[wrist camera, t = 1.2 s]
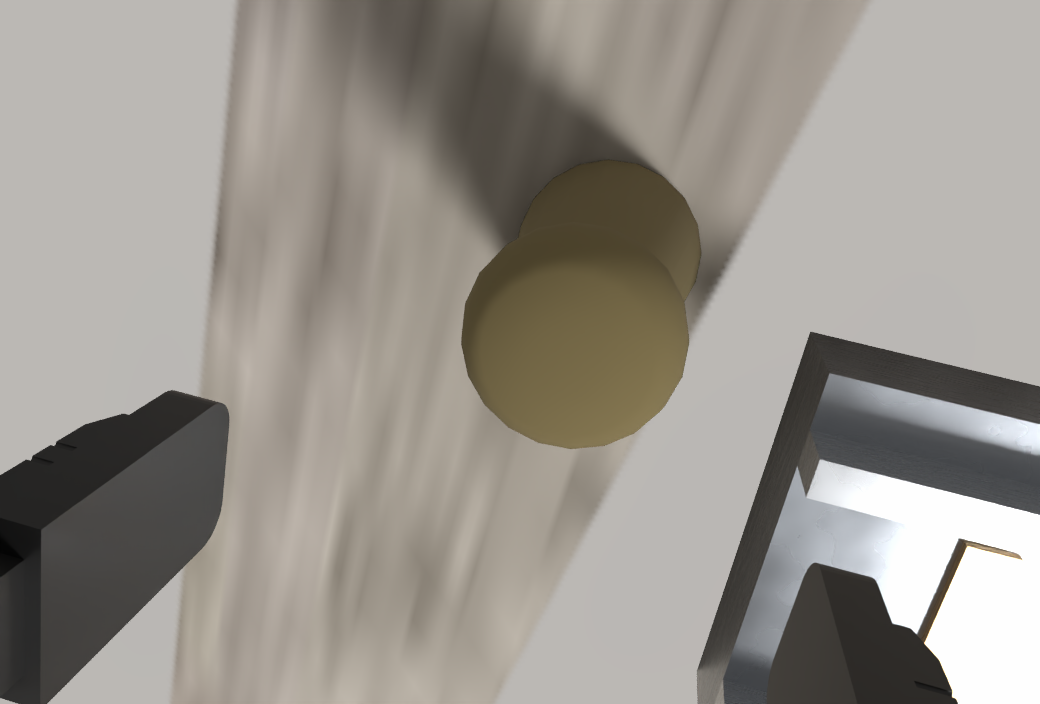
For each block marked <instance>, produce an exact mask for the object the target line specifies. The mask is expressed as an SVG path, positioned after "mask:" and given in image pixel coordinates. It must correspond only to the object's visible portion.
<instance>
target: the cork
mask: <svg viewBox="0 0 1040 704" xmlns="http://www.w3.org/2000/svg"><path fill="white" fill-rule="evenodd" d="M700 258H701V247H700V239H699V231H698V224H697V222H696V220H695V218H694V216H693V214H692V212H691V210H690V208H689V206H688V204H687V202H686V200H685V198H684V197H683V196H682V195H681V194H680V193H679V192H678V191H677V190H676V189H675V188H674V187H673V186H672V185H671V184H670V183H669V182H668V181H667V180H666V179H665V178H664V177H662V176H660V175H658V174H656V173H654V172H652V171H650V170H648V169H646V168H644V167H642V166H641V165H639V164H634V163H628V162H621V161H614V160H603V161H597V162H591V163H585V164H580V165H577V166H576V167H574V168H572V169H570V170H568V171H566V172H564V173H562V174H560V175H559V176H557V177H555V178H553V179H552V180H551V181H550V182H549V183H548V184H547V185H546V187H545V188H544V189H543V190H542V191H541V192H540V193H539V194H538V195H537V196H536V197H535V198H534V199H533V201H532V203H531V206H530V208H529V210H528V212H527V214H526V216H525V218H524V220H523V222H522V224H521V228H520V232H519V236H518V239H516V240H514V241H512V242H510V243H508V244H507V245H506V246H505V247H504V248H503V249H502V250H501V251H500V252H499V253H498V254H497V255H496V256H495V257H494V258H493V259H492V261H491V262H490V263H489V264H488V265H487V266H486V267H485V268H484V269H483V270H482V271H481V272H480V273H479V275H478V277H477V279H476V282H475V284H474V286H473V288H472V290H471V292H470V294H469V297H468V299H467V301H466V303H465V310H464V320H463V329H462V341H461V345H462V349H463V354H464V359H465V363H466V368H467V373H468V376H469V378H470V380H471V382H472V384H473V385H474V387H475V389H476V391H477V392H478V394H479V396H480V398H481V399H482V401H483V403H484V405H485V406H487V407H488V408H489V409H490V410H491V411H492V412H493V413H494V414H495V415H496V416H497V417H498V418H499V419H500V420H501V421H502V422H503V423H504V424H505V425H506V426H508V427H509V428H511V429H513V430H515V431H516V432H518V433H520V434H522V435H524V436H526V437H528V438H530V439H532V440H534V441H536V442H538V443H542V444H548V445H553V446H558V447H563V448H568V449H576V448H587V447H597V446H605V445H607V444H610V443H612V442H614V441H617V440H619V439H622V438H624V437H626V436H629V435H631V434H634V433H635V432H636V431H638V430H639V429H640V428H641V427H642V426H643V425H645V424H646V423H647V422H648V421H649V420H650V419H652V418H653V417H654V416H655V415H656V414H657V413H659V412H660V411H661V410H662V409H663V407H664V406H665V405H666V403H667V402H668V400H669V398H670V396H671V395H672V393H673V391H674V390H675V388H676V386H677V385H678V383H679V381H680V379H681V378H682V375H683V371H684V366H685V361H686V356H687V351H688V346H689V334H688V327H687V319H686V312H685V304H684V301H685V300H686V298H687V296H688V294H689V293H690V291H691V289H692V287H693V285H694V284H695V282H696V278H697V273H698V268H699V263H700Z"/></svg>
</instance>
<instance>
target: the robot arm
mask: <svg viewBox="0 0 1040 704" xmlns="http://www.w3.org/2000/svg"><path fill="white" fill-rule="evenodd" d="M228 431H229V413H228V409H227V407H226V406H225V405H224V404H223V403H219V402H215V401H212V400H208V399H204V398H200V397H197V396H193V395H189V394H185V393H182V392H178V391H173V390H171V391H167V392H165V393H163V394H162V395H160V396H159V397H157V398H156V399H154V400H152V401H151V402H149V403H148V404H146V405H145V406H143V407H141V408H140V409H138V410H136V411H135V412H133V413H132V414H130V415H127V414H121V415H117V416H114V417H110V418H107V419H103V420H99V421H96V422H92V423H89V424H85V425H83V426H82V427H80V428H78V429H77V430H75V431H74V432H72V433H70V434H68V435H67V436H65V437H63V438H62V439H60V440H58V441H57V442H56V445H55V446H52V445H50V446H48V447H47V448H45V449H43V450H42V451H40V452H39V453H37V454H35V455H33V457H32V460H31V461H30V460H25V461H23V462H22V463H20V464H18V465H17V466H15V467H13V468H12V469H10V470H8V471H7V472H5V473H3V474H2V475H0V698H2V699H5V700H9V701H12V702H15V703H18V704H47V703H48V702H49V701H50V700H51V699H52V698H53V697H54V696H55V695H56V694H57V693H58V692H59V691H60V690H61V689H62V688H63V687H64V686H65V685H66V684H67V683H68V682H69V681H70V680H71V679H72V678H73V677H74V676H75V675H76V674H77V673H78V672H79V671H80V670H81V669H82V668H83V667H84V666H85V665H86V664H87V663H88V662H89V661H90V660H91V659H92V658H93V657H94V656H95V655H96V654H97V653H98V652H99V651H100V650H101V649H102V648H103V647H104V646H105V645H106V644H107V643H108V642H109V641H110V640H111V639H112V638H113V637H114V636H115V635H116V634H117V633H118V632H119V631H120V630H121V629H122V628H123V627H124V626H125V625H126V624H127V623H128V622H129V621H130V620H131V619H132V618H133V617H134V616H135V615H136V614H137V613H138V612H139V611H140V610H141V609H142V608H143V607H144V606H145V605H146V604H147V603H148V602H149V601H150V600H151V599H152V598H153V597H154V596H155V595H156V594H157V593H158V592H159V591H160V590H161V589H162V588H163V587H164V586H165V585H166V584H167V583H168V582H169V581H170V580H171V579H172V578H173V577H174V576H175V575H176V574H177V573H178V572H179V571H180V570H181V569H182V568H183V567H184V566H185V565H186V564H187V563H188V562H189V561H190V560H191V559H192V558H193V557H194V556H195V555H196V554H197V553H198V552H199V551H200V550H201V549H202V548H203V547H204V546H205V544H206V543H207V541H208V540H209V538H210V537H211V535H212V533H213V531H214V529H215V526H216V524H217V521H218V519H219V515H220V511H221V507H222V499H223V488H224V476H225V465H226V454H227V442H228ZM952 694H953V690H952V688H951V685H950V683H949V681H948V678H947V676H946V674H945V672H944V669H943V667H942V665H941V662H940V660H939V659H938V658H937V657H936V655H935V654H934V653H933V652H932V651H931V650H930V649H929V648H928V647H927V646H926V644H925V643H924V642H923V641H922V640H921V639H920V638H919V637H918V636H917V635H916V633H915V632H914V631H913V630H912V629H911V628H908V627H905V626H901V625H897V624H894V623H892V621H891V618H890V615H889V613H888V610H887V607H886V605H885V602H884V600H883V597H882V594H881V592H880V589H879V586H878V584H877V582H876V580H875V579H874V578H872V577H869V576H865V575H861V574H857V573H854V572H850V571H846V570H842V569H839V568H835V567H831V566H827V565H823V564H820V563H816V562H815V563H813V564H811V565H810V566H809V568H808V569H807V571H806V573H805V575H804V578H803V580H802V583H801V585H800V588H799V591H798V594H797V596H796V599H795V602H794V605H793V607H792V610H791V613H790V615H789V618H788V621H787V624H786V626H785V629H784V632H783V634H782V637H781V640H780V643H779V645H778V648H777V651H776V654H775V656H774V659H773V662H772V666H771V670H770V675H769V680H768V687H767V704H958V702H957V699H956V698H954V697H952Z"/></svg>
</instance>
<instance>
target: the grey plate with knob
mask: <svg viewBox="0 0 1040 704" xmlns="http://www.w3.org/2000/svg"><path fill="white" fill-rule="evenodd" d="M815 562H816V563H820V564H823V565H827V566H831V567H835V568H839V569H842V570H846V571H850V572H854V573H857V574H861V575H865V576H869V577H872V578H874V579H875V580H876V582H877V584H878V586H879V589H880V592H881V594H882V597H883V600H884V602H885V605H886V607H887V610H888V613H889V615H890V618H891V621H892V623H894V624H897V625H901V626H905V627H908V628H911V629H912V630H913V631H914V632H915V633H916V635H917V636H918V637H919V638H920V639H921V640H922V641H923V642H924V643H925V644H926V646H927V647H928V648H929V649H930V650H931V651H932V652H933V653H934V654H935V655H936V657H937V658H938V659H939V660H940V662H941V665H942V667H943V669H944V672H945V674H946V676H947V678H948V681H949V683H950V685H951V688H952V690H953V694H952V697H954V698H956V699H957V702H958V704H1040V387H1039V386H1035V385H1031V384H1027V383H1022V382H1018V381H1013V380H1010V379H1006V378H1002V377H997V376H993V375H989V374H985V373H981V372H976V371H972V370H968V369H964V368H960V367H956V366H952V365H947V364H943V363H939V362H935V361H931V360H926V359H922V358H918V357H913V356H909V355H905V354H901V353H897V352H893V351H889V350H885V349H880V348H876V347H872V346H868V345H864V344H859V343H855V342H851V341H847V340H843V339H839V338H834V337H830V336H826V335H822V334H818V333H814V332H810V335H809V338H808V341H807V344H806V347H805V350H804V353H803V356H802V359H801V362H800V365H799V368H798V371H797V374H796V377H795V380H794V383H793V386H792V389H791V392H790V395H789V398H788V401H787V404H786V407H785V409H784V413H783V415H782V419H781V421H780V424H779V427H778V431H777V433H776V437H775V439H774V443H773V445H772V448H771V451H770V455H769V458H768V461H767V463H766V466H765V469H764V472H763V475H762V478H761V481H760V484H759V488H758V490H757V493H756V496H755V499H754V502H753V505H752V508H751V511H750V514H749V517H748V520H747V523H746V526H745V529H744V532H743V535H742V538H741V541H740V544H739V547H738V550H737V553H736V556H735V559H734V562H733V565H732V568H731V571H730V574H729V577H728V580H727V583H726V586H725V589H724V592H723V595H722V598H721V601H720V604H719V607H718V610H717V613H716V616H715V619H714V622H713V625H712V628H711V631H710V634H709V637H708V640H707V643H706V646H705V649H704V652H703V655H702V658H701V661H700V664H699V667H698V670H697V694H698V704H767V687H768V680H769V675H770V670H771V666H772V662H773V659H774V656H775V654H776V651H777V648H778V645H779V643H780V640H781V637H782V634H783V632H784V629H785V626H786V624H787V621H788V618H789V615H790V613H791V610H792V607H793V605H794V602H795V599H796V596H797V594H798V591H799V588H800V585H801V583H802V580H803V578H804V575H805V573H806V571H807V569H808V568H809V566H810V565H811V564H813V563H815Z"/></svg>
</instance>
